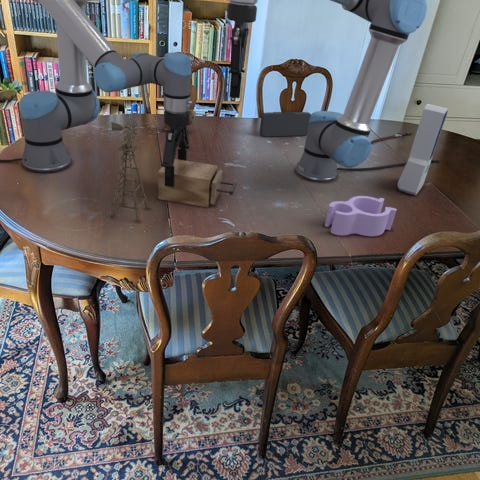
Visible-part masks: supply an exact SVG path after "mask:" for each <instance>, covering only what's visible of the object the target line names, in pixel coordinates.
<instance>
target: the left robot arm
mask: <svg viewBox="0 0 480 480" xmlns="http://www.w3.org/2000/svg"><path fill="white" fill-rule="evenodd" d="M89 1H90V0H33V2H34V3H37V4H40V5H41V6H42V7H43V9H45V11H46V12H47V13H48V15H49V16H50V17H51V18H52V19H53V21H55V27H56V41H57V56H58V57H57V58H58V72H59V80H58V81H57V82H56V83H55V92H54V91H51V90H40V91H39V90H36V91H31V92H29V93H26V94H24V95H23V96H22V97H21V98H20V100H19V103H18V104H19V116H20V119H21V125H22V132H23V137H24V148H23V153H22V157H20V158H11V159H0V163H11V162H12V163H13V162H21V161H22V166H23V168H24V169H25V170H27V171H29V172H33V173H39V174H46V173H56V172H61V171H63V170H66V169H67V168H69V167H70V166H71V163H72V159H71V154H70V153H69V151H68V150H67V149H68V148H67V147H66V145H65V143H64V140H63V131H65V130H69V129H73V128H77V127H79V126H84V125H87V124H89V123H91V122H94V121H95V120H96V119H97V118H98V117H99V114H100V109H101V104H100V99H99V98H98V94H97V93H96V92H95V91H94V90H93V87H92V85H91V83H89V82H88V70H87V68H88V67H87V62H89V64H90V65H91V67H93V69H94V70H93V79H94V81H95V82H96V86H97V87H98V89H100V90H101V91H102V92H104V93H116V92H121V91H125V90H129V89H131V88H137V87H141V86H144V85H150V84H151V85H152V84H154V85H157V86H160V87H163V109H164V110H163V122H164V123H165V124H166V125H168V126H167V127H169V128H170V129H168V132H166V133H165V141H164V150H163V157H162V163H161V168H162V167H165V186H170V187H174V166H173V164H174V160H175V159H176V154H177V159H179V160H185V161H187V156H188V155H187V154H188V150H190V148H191V147H190V140H189V133H188V132H189V131H188V130H187V125H188V124H189V123H190V112H189V110H191V105H192V104H193V101H192V100H191V85H192V83H191V81H192V73H193V72H192V59H191V57H190V55H189V54H186V53H183V52H167V53H165V54H164V56H163V57H160V56H156V55H153V54H150V53H148V52H136V53H133V54H132V56H130V57H129V58H123V57H122V56H121V55H120V54H119V52H117V50H116V49H115V48H114V47H113V45H112V44H111V43H110V42H109V41H108V40H107V38H106V37H105V35H104V34H103V33H102V32H101V31H100V30H99V29H98V27H97V26H96V25H95V24H94V23H93V22H92V20H91V19H90V18H89V17H88V15H87V14H86V9H85V5H86V4H87V3H88V2H89ZM188 126H189V125H188ZM187 131H188V132H187Z"/></svg>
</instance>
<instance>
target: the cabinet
mask: <svg viewBox="0 0 480 480" xmlns="http://www.w3.org/2000/svg"><path fill="white" fill-rule="evenodd" d="M173 166H174V187H170V186H165V167H162V166H161V168H160V169H159V170H158V171H157V175H158V176H157V180H158V181H157V184H158V185H157V189H158V190H157V191H158V192H157V198H158V200H160V201H161V200H163V201H167V202H174V203H181V204H185V205H191V206H197V207H203V208H209V206H210V205H211V193H210V195H209V192H210V181H211V179H212V177H213V180H214V178H215V176H216V174H217V172H218V168H219V167H218V165H216V164H209V163H205V162H204V163H203V162H198V161H197V162H196V161H190V160H186V161H185V160H179V159H178V158H175V160H174V164H173Z"/></svg>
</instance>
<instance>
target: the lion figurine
mask: <svg viewBox="0 0 480 480" xmlns="http://www.w3.org/2000/svg"><path fill="white" fill-rule="evenodd" d="M189 112H190V123H189V124H188V125H187V132H188V134H189V132H190V131H189V126H192V125H193V123H194V122H196V118H197V114H196V111H195V110H193V109H190V110H189ZM167 127H169V126H168V125H166V124H165V123H164V124H163V128H161V132H162V131H169V130H170V127H169V129H168V128H167Z"/></svg>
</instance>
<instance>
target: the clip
mask: <svg viewBox="0 0 480 480" xmlns="http://www.w3.org/2000/svg"><path fill="white" fill-rule="evenodd" d="M384 201H385V198H383V197H379V198H376V197H373V196H368V195H357V196H352V197H350V198H349V200H347V201H339V200H338V201H337V200H335V201H332V202H330V203H329V205H328V208H327V214H326V218H325V222H324V227H326V228H329V227H330V226H331V227H330V233H331V234H333V235H336V236H348V235H353V234H356V235H360V236H364V237H365V236H366V237H378V236H381V235H382V234H384V232H385V230H387V231H391V229H392V226H393V222H394V219H395V216H396V213H397V210H398V209H397V208H395V207H391V206H385V207H384V211H383V212H382V209H383V206H384Z"/></svg>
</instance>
